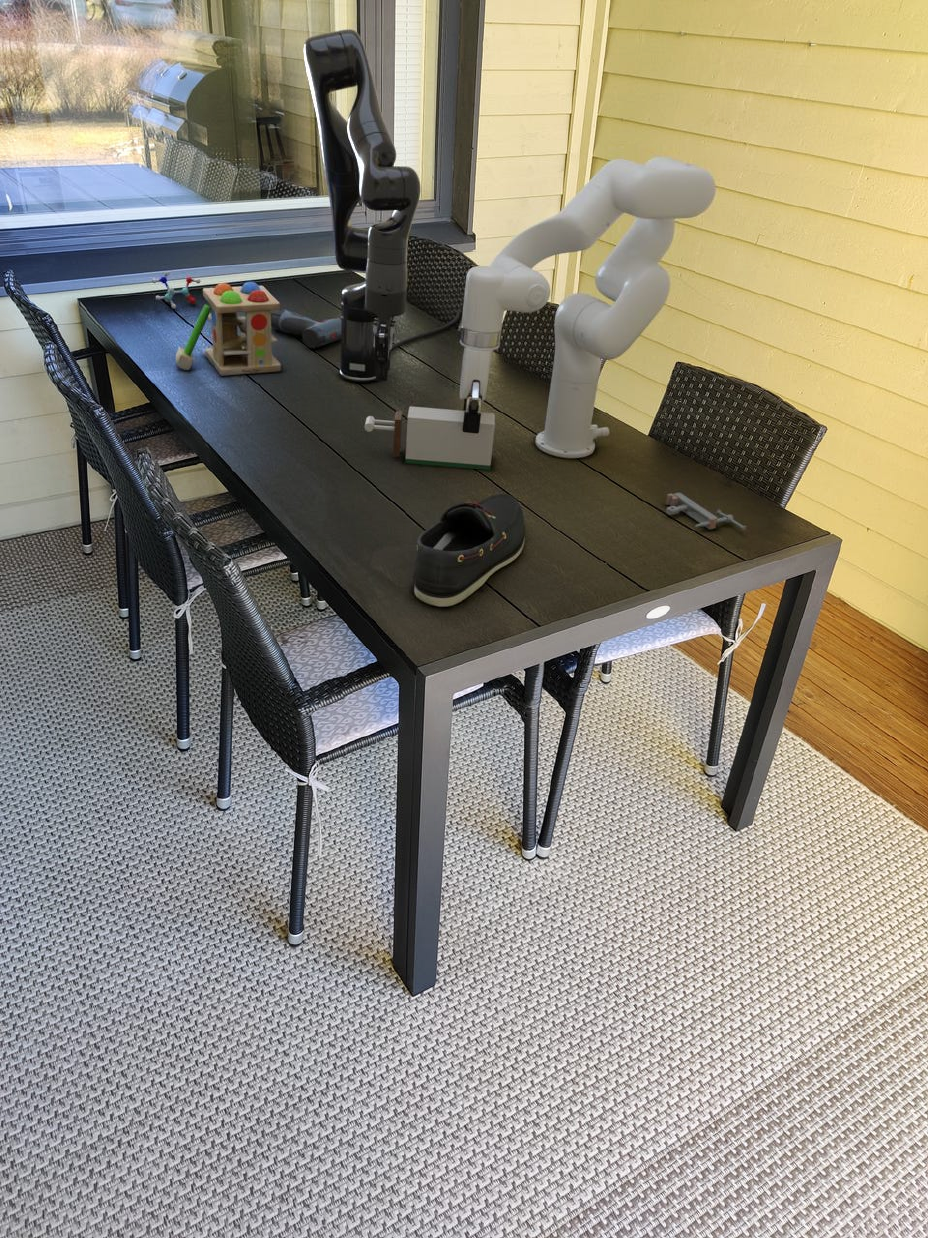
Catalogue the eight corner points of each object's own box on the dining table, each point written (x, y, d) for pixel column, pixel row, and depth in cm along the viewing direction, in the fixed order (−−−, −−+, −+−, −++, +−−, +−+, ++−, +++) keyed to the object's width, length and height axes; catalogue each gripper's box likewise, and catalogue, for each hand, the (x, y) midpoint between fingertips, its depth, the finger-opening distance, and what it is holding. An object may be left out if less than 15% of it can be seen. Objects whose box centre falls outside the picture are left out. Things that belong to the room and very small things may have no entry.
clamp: (655, 496, 187) (694, 487, 191) (652, 506, 188) (692, 497, 192) (708, 532, 176) (748, 523, 181) (705, 543, 177) (745, 533, 182)
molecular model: (184, 300, 255) (170, 262, 254) (156, 313, 259) (142, 276, 258) (209, 302, 266) (196, 266, 265) (181, 315, 270) (168, 279, 268)
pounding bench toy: (183, 379, 220) (176, 299, 210) (169, 357, 231) (162, 280, 221) (282, 371, 230) (280, 294, 220) (264, 350, 240) (262, 276, 230)
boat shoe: (551, 538, 175) (557, 484, 170) (450, 614, 151) (453, 554, 146) (489, 517, 181) (493, 465, 175) (383, 588, 157) (383, 530, 151)
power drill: (305, 316, 264) (364, 334, 256) (257, 332, 251) (318, 351, 243) (305, 296, 261) (365, 314, 253) (257, 311, 248) (318, 330, 240)
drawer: (363, 454, 195) (364, 416, 190) (365, 445, 198) (366, 408, 194) (472, 463, 195) (475, 425, 191) (472, 453, 199) (475, 417, 195)
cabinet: (405, 463, 195) (407, 417, 189) (407, 451, 200) (409, 406, 194) (490, 470, 196) (494, 424, 190) (489, 458, 200) (494, 413, 195)
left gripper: (369, 272, 184) (366, 360, 194) (361, 294, 172) (359, 387, 182) (409, 276, 184) (404, 364, 194) (404, 298, 172) (399, 390, 182)
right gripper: (461, 320, 190) (452, 404, 200) (459, 349, 176) (450, 438, 185) (499, 324, 191) (489, 408, 200) (501, 353, 176) (490, 442, 186)
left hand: (382, 374), depth 188 cm, fingers open, 5 cm apart
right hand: (470, 422), depth 193 cm, fingers open, 9 cm apart
